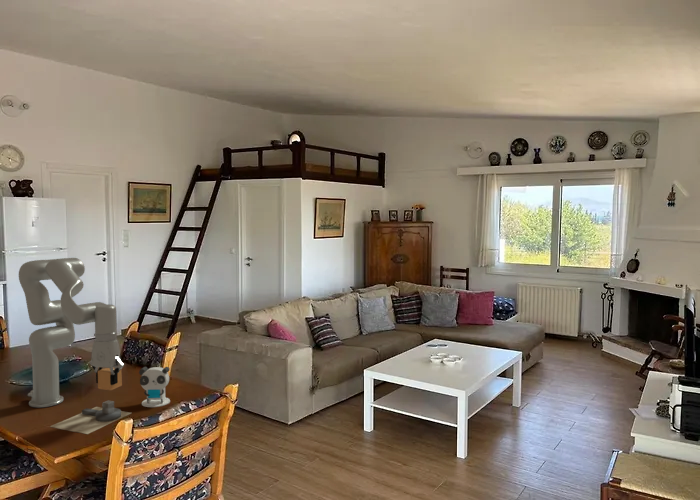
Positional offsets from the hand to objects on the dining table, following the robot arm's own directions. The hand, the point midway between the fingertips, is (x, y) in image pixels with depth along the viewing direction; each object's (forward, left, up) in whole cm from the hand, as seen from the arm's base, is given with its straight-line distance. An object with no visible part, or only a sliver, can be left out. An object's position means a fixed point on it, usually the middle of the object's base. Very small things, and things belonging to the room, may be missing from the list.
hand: (106, 382), depth 205 cm
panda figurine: (+5, +22, -15) cm, 27 cm away
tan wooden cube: (0, +2, -2) cm, 3 cm away
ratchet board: (-4, -4, -15) cm, 16 cm away
